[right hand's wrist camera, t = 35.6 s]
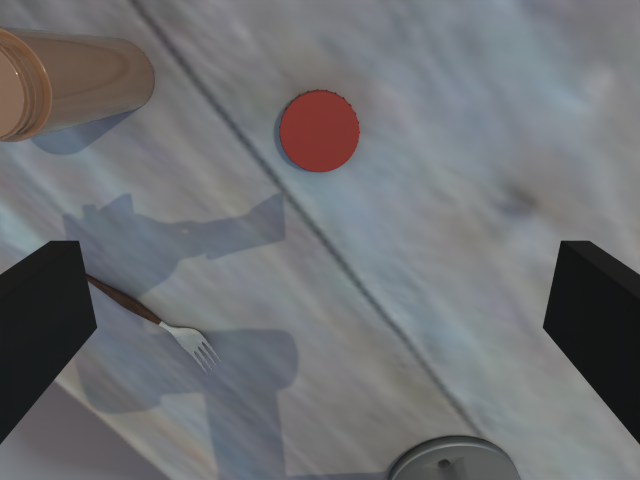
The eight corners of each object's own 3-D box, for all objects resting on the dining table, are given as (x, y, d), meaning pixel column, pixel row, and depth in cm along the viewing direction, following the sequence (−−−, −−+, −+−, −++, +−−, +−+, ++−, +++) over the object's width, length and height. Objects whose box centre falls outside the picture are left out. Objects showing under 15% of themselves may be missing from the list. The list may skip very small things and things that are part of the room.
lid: (324, 71, 37) (325, 72, 35) (373, 134, 39) (376, 138, 37) (264, 124, 38) (262, 127, 37) (314, 183, 40) (314, 188, 38)
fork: (86, 258, 43) (75, 267, 41) (226, 348, 46) (222, 360, 44) (73, 277, 43) (61, 287, 42) (211, 364, 47) (207, 377, 45)
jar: (133, 125, 38) (3, 171, 23) (73, 82, 37) (-110, 99, 21) (167, 68, 37) (52, 75, 21) (105, 22, 35) (-68, -8, 20)
